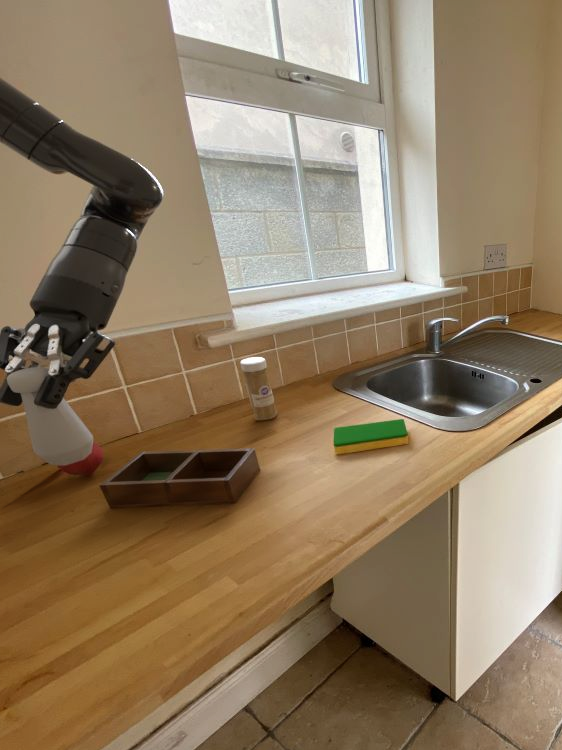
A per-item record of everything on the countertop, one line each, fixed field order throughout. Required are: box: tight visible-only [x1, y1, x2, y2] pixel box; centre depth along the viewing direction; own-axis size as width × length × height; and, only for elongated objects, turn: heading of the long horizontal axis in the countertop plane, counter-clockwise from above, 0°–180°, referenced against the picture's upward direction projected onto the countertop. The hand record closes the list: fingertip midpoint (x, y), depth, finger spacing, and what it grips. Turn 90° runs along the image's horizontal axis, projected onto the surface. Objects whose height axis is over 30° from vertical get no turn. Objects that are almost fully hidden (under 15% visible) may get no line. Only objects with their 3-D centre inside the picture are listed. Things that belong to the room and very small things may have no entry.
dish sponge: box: [333, 418, 409, 455], centre depth 91 cm, size 7×14×2 cm, turn 111°
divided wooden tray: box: [99, 448, 261, 510], centre depth 75 cm, size 18×10×5 cm, turn 97°
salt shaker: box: [7, 366, 95, 466], centre depth 59 cm, size 6×6×13 cm
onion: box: [56, 441, 105, 477], centre depth 76 cm, size 6×6×8 cm
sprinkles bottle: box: [239, 356, 278, 422], centre depth 96 cm, size 5×5×14 cm
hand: (26, 404), depth 56 cm, fingers closed on salt shaker, 4 cm apart
